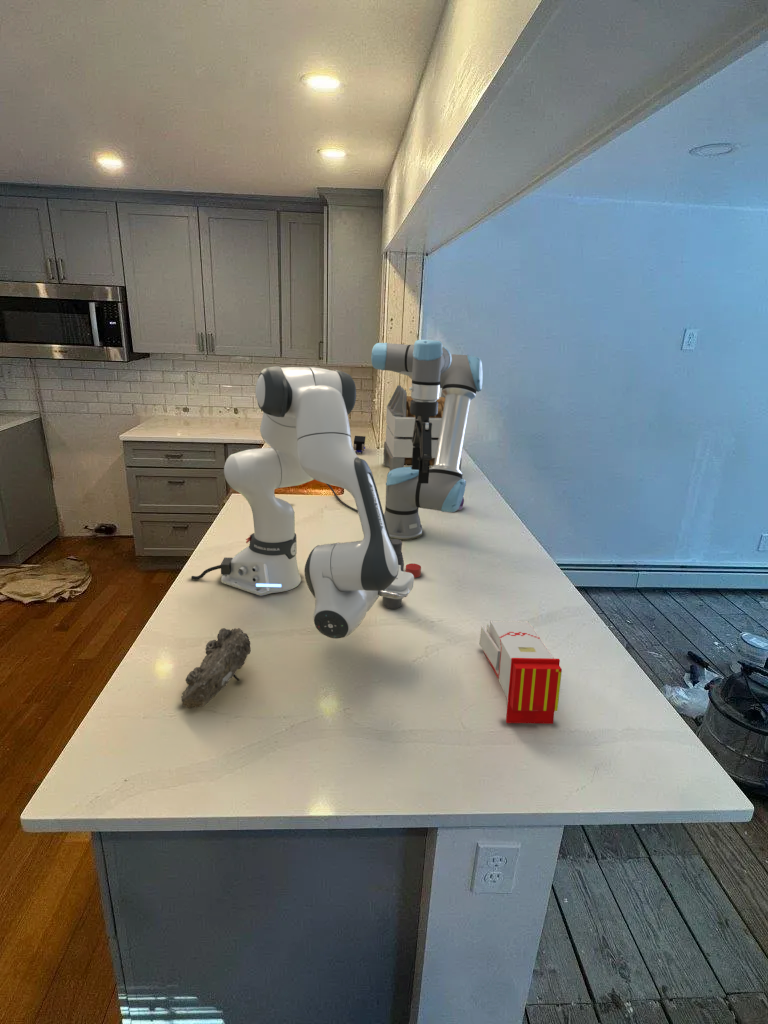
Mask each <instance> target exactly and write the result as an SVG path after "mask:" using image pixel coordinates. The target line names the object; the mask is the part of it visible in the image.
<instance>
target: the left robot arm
mask: <svg viewBox="0 0 768 1024" xmlns="http://www.w3.org/2000/svg"><path fill="white" fill-rule="evenodd" d="M254 391H255V399H256V402H257V406H258V408H259V409H260V410H261V412H262V417H261V422H260V426H259V433H260V436H261V438H262V439H263V441H264V443H266V444H267V446H269V447H259V448H251V449H245V450H244V449H243V450H241V451H238V452H235V453H231V454H230V455H229V456H228V457H227V458H226V460H225V462H224V467H223V475H224V479H225V482H226V483H227V484H228V486H229V487H230V488H231V489H232V490H233V491H235V492H237V493H238V494H240V495H241V496H243V498H244V499H245V500H246V501H247V503H248V504H249V507H250V509H251V513H252V520H253V533H251V534H250V535H249V536H248V537H247V538H245V540H246V542H245V543H246V544H248V543H249V545H247V546H246V547H245V548H243V549H242V550H240V551H239V552H237V554H235V555H234V556H233V557H223V559H222V561H221V562H220V564H218V565H215V566H211V567H209V568H206V569H205V570H204V571H202V572H201V574H199V575H191V578H190V579H191V580H195V581H198V580H201V579H202V578H203V577H205V576H206V575H207V574H208V573H210V572H212V571H216V570H220V575H221V577H220V578H221V579H220V582H221V584H223V585H227V586H230V587H233V588H236V589H240V590H242V591H245V592H248V593H251V594H253V595H256V596H262V597H263V596H267V595H269V594H274V593H283V592H288V591H290V590H293V589H295V588H296V587H298V586H299V585H301V583H302V577H301V575H300V570H299V566H298V560H297V553H298V552H297V549H298V544H297V543H298V541H297V534H296V524H295V521H296V520H295V519H296V518H295V517H296V516H295V515H296V514H295V509H294V507H293V505H292V504H291V503H289V502H288V501H286V500H284V499H281V498H280V497H277V496H276V495H275V490H276V489H282V488H288V487H296V486H300V485H304V484H306V483H309V482H311V481H314V480H315V481H317V482H320V483H323V484H326V485H327V484H329V485H330V486H335V487H338V488H341V489H343V490H345V491H347V492H348V493H349V494H350V495H351V496H352V498H353V499H354V502H355V506H356V510H358V512H357V514H358V518H359V521H360V526H361V529H362V534H363V538H362V540H355V541H347V542H333V543H325V544H318V545H316V546H314V547H313V549H311V551H310V553H309V554H308V556H307V559H306V561H305V563H304V564H305V565H304V570H303V571H304V572H303V573H304V578H305V579H304V580H305V582H306V585H307V587H308V590H309V592H310V593H311V595H312V596H313V598H314V600H315V605H314V610H313V624H314V627H315V628H316V630H317V631H318V632H319V633H320V634H321V635H323V636H325V637H327V638H330V639H343V638H346V637H348V636H349V635H351V634H352V633H353V632H354V631H356V629H357V628H358V627H359V626H360V624H361V623H362V622H363V620H364V619H365V617H366V615H367V613H368V612H370V610H371V608H373V606H374V605H375V603H376V601H377V600H378V599H379V597H382V598H383V597H387V598H392V599H402V600H403V599H404V598H407V597H408V596H409V594H410V593H411V591H412V590H413V588H414V585H415V584H414V583H415V578H414V576H413V574H412V573H409V572H405V571H401V565H398V559H397V555H396V552H395V549H394V546H393V544H392V541H391V539H390V536H389V533H388V529H387V525H386V521H385V518H384V510H383V507H382V503H381V498H380V495H379V491H378V488H377V484H376V480H375V478H374V475H373V472H372V470H371V468H370V466H369V464H368V462H367V461H366V460H365V459H362V458H360V457H359V456H358V453H357V454H356V450H354V448H353V447H354V445H353V441H352V433H351V425H350V418H349V415H350V413H351V412H352V411H353V409H354V407H355V406H356V405H355V404H356V401H357V387H356V383H355V380H354V379H353V377H352V376H351V374H349V373H347V372H345V371H343V370H338V369H333V370H331V369H327V368H321V367H314V366H285V367H281V365H276V366H269V367H264V368H263V369H262V370H261V371H260V372H259V374H258V376H257V380H256V383H255V390H254Z"/></svg>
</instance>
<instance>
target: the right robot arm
mask: <svg viewBox="0 0 768 1024" xmlns="http://www.w3.org/2000/svg"><path fill="white" fill-rule="evenodd" d="M370 359H371V366H372V368H374V369H375V370H379V371H383V372H384V371H390V372H394V373H397V374H401V375H404V376H407V377H408V378H409V379H410V380H411V386H409V388H408V390H409V391H410V396H411V398H412V399H413V400H411V402H410V413H411V414H412V415H415V424H414V431H413V438H412V443H413V453H412V466H404V467H402V468H396V469H393V470H391V471H390V470H389V472H388V473H387V475H386V482H385V504H384V505H385V507H384V508H385V509H384V512H383V514H384V518H385V521H386V525H387V529H388V533H389V536H390V539H398V540H401V541H410V540H415V539H418V538H420V537H421V536H422V535H423V525H422V524H421V518H420V515H419V509H425V510H432V511H437V512H438V511H439V512H441V513H444V512H447V513H455V512H457V511H456V510H457V509H458V508H459V506H460V504H461V502H462V499H463V497H464V496H465V491H466V486H467V481H466V479H464V478H463V472H462V470H461V471H460V470H459V465H460V459H461V458H462V453H463V447H464V441H465V435H466V429H467V423H468V417H469V410H470V404H471V401H472V400H474V399H475V398H476V396H477V393H479V392H481V391H482V389H483V380H484V379H483V377H484V375H483V373H484V372H483V362H482V359H481V358H480V357H479V356H477V355H469V354H454V353H451V351H450V350H449V349H448V348H447V347H445V346H443V342H442V341H440V340H435V339H417V340H415V341H414V343H413V344H404V343H403V344H402V343H391V342H390V343H389V342H377V343H375V344H374V345H373V347H372V349H371V358H370ZM440 389H441V392H442V393H443V394H444V396H445V403H444V409H443V415H442V421H441V426H440V432H439V438H438V444H437V450H436V456H435V462H434V465H433V466H432V465H430V460H431V459H432V439H431V430H432V422H430V421H429V417H430V416H436V415H437V414H438V402H437V400H438V399H439V397H440ZM326 485H327V486H328V487H329V489H330V490H331V492H332V493H333V495H334V497H335V498H336V499H337V500H338V502H340V503H341V504H342V505H343V506H345V507H346V508H348V509H350V510H352V511H354V512H356V513H358V510H357V508H354V507H352V506H350V505H348V504H347V503H345V502H344V501H343V500H341V498H339V496H338V495H337V493H336V492H335V490H334V489H333V487H332V485H330V484H326Z"/></svg>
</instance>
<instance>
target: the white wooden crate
mask: <svg viewBox="0 0 768 1024" xmlns="http://www.w3.org/2000/svg"><path fill="white" fill-rule="evenodd" d="M440 393H441V394H440V396H439V399H438V400H437V402H438V414H437V415H436V416H430V417H429V421H430V422H432V430H431V439H432V459H431V460H430V466H431V467H432V466H433V465H434V462H435V456H436V450H437V444H438V438H439V432H440V426H441V421H442V415H443V409H444V403H445V396H444V394H443V393H442V391H441V392H440ZM407 394H408V393H407V390H406V389H404V388H403V387H402V385H399V384H398V385H397V386H396V388H395V390H394V392H393V394H392V395H391V398H390V400H389V402H388V404H387V405H386V413H385V414H386V415H385V423H386V428H385V438H384V442H383V466H384V467H388V468H389V472H390V471H391V470H393V469H396V468H402V467H405V466H406V467H412V453H413V443H412V438H413V431H414V424H415V415H412V414H411V413H410V402H411V400H413V399H412V398H411V395H407ZM462 461H463V460H462V457H461V459H460V465H459V470H460V471H461V472H462Z"/></svg>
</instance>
